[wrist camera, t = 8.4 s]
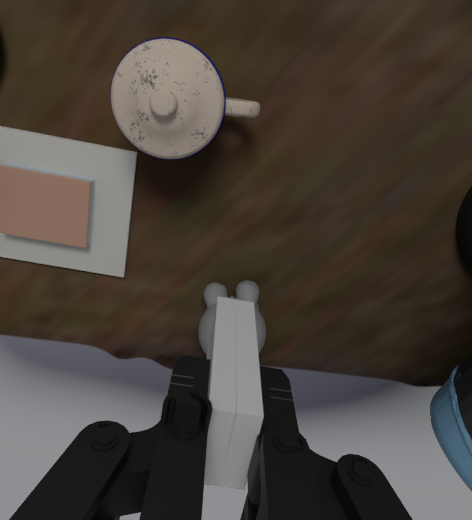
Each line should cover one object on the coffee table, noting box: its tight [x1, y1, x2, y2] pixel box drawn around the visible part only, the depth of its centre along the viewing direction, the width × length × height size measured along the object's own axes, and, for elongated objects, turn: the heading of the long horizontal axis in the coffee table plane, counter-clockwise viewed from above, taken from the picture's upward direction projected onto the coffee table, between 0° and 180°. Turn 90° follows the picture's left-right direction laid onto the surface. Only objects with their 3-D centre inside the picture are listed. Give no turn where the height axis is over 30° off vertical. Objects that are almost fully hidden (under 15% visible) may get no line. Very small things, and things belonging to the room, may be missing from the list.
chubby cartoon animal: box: [198, 280, 266, 355], centre depth 48 cm, size 7×12×8 cm, turn 0°
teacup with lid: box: [110, 37, 260, 160], centre depth 37 cm, size 12×9×12 cm
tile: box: [0, 163, 95, 248], centre depth 45 cm, size 2×7×9 cm
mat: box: [0, 126, 138, 277], centre depth 45 cm, size 18×14×1 cm
